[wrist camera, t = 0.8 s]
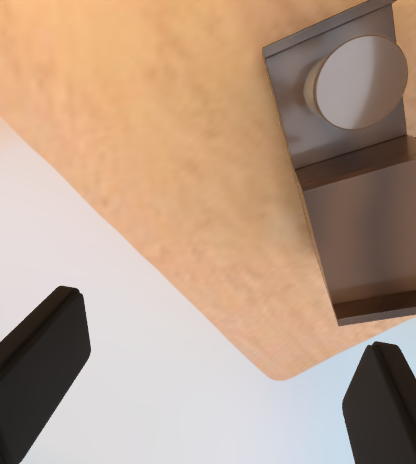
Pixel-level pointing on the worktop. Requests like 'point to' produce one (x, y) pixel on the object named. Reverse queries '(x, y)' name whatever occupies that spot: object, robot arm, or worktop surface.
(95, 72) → the worktop surface
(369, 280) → the step rack
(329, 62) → the spice jar
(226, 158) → the worktop surface
